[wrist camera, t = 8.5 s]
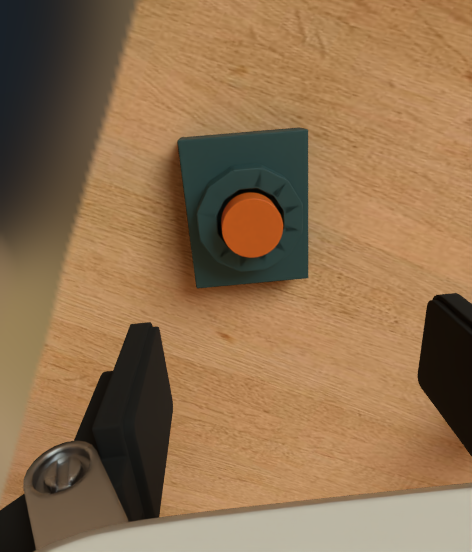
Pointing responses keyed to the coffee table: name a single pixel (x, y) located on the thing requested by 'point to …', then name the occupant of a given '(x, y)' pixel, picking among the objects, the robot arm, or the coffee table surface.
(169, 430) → the robot arm
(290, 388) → the coffee table surface
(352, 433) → the coffee table surface
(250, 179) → the button block
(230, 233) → the button
